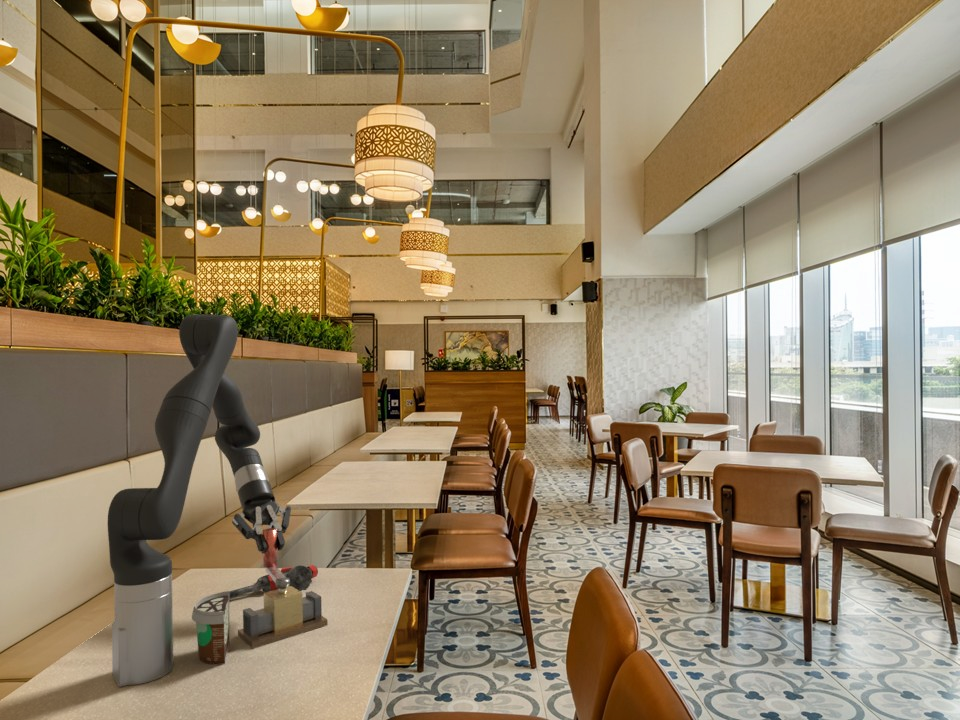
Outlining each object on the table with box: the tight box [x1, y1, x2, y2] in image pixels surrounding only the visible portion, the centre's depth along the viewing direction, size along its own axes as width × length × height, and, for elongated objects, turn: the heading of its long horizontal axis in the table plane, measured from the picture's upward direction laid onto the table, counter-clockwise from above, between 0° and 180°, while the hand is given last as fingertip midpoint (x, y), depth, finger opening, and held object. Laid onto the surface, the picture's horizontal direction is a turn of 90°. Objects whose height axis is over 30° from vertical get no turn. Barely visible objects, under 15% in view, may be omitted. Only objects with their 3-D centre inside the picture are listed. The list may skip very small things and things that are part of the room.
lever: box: [262, 527, 290, 588], centre depth 133 cm, size 15×3×9 cm, turn 31°
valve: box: [228, 564, 319, 599], centre depth 153 cm, size 6×26×15 cm
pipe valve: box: [237, 586, 329, 649], centre depth 127 cm, size 16×8×9 cm, turn 131°
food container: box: [191, 590, 231, 665], centre depth 117 cm, size 12×6×10 cm, turn 18°
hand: (273, 549), depth 136 cm, fingers closed on lever, 3 cm apart
